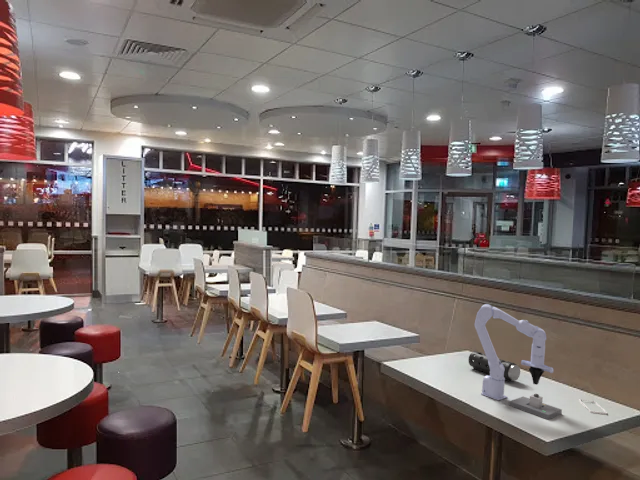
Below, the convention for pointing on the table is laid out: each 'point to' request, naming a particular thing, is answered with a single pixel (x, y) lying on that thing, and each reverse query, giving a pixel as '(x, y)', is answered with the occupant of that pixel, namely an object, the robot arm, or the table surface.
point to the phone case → (593, 411)
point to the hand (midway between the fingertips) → (535, 383)
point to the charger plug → (535, 401)
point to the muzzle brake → (482, 364)
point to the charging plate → (543, 412)
